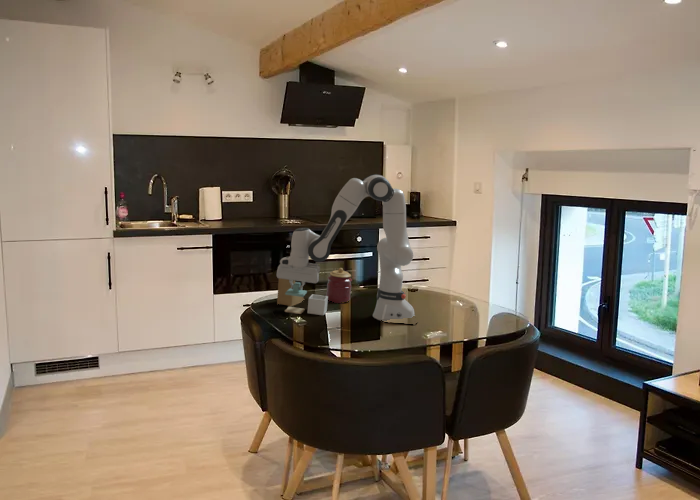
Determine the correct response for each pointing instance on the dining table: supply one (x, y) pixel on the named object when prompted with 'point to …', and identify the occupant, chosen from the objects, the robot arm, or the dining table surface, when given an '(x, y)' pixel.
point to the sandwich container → (287, 299)
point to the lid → (296, 290)
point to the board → (294, 310)
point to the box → (317, 304)
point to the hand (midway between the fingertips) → (296, 289)
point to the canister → (339, 286)
